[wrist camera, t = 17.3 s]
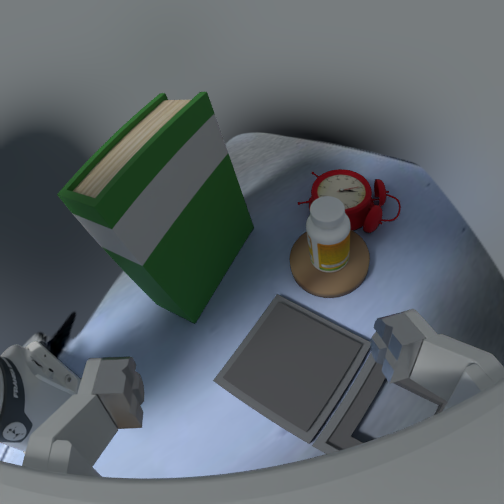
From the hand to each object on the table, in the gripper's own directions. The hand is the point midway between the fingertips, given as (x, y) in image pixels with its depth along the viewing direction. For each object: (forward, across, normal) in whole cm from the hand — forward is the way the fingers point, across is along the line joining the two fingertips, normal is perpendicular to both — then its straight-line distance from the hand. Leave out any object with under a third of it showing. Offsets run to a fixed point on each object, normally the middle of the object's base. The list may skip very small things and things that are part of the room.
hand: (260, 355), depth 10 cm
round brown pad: (+29, -15, +14) cm, 36 cm away
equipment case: (+14, -12, +23) cm, 29 cm away
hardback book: (+36, +2, +16) cm, 40 cm away
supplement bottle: (+29, -15, +13) cm, 35 cm away
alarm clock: (+36, -21, +10) cm, 43 cm away
